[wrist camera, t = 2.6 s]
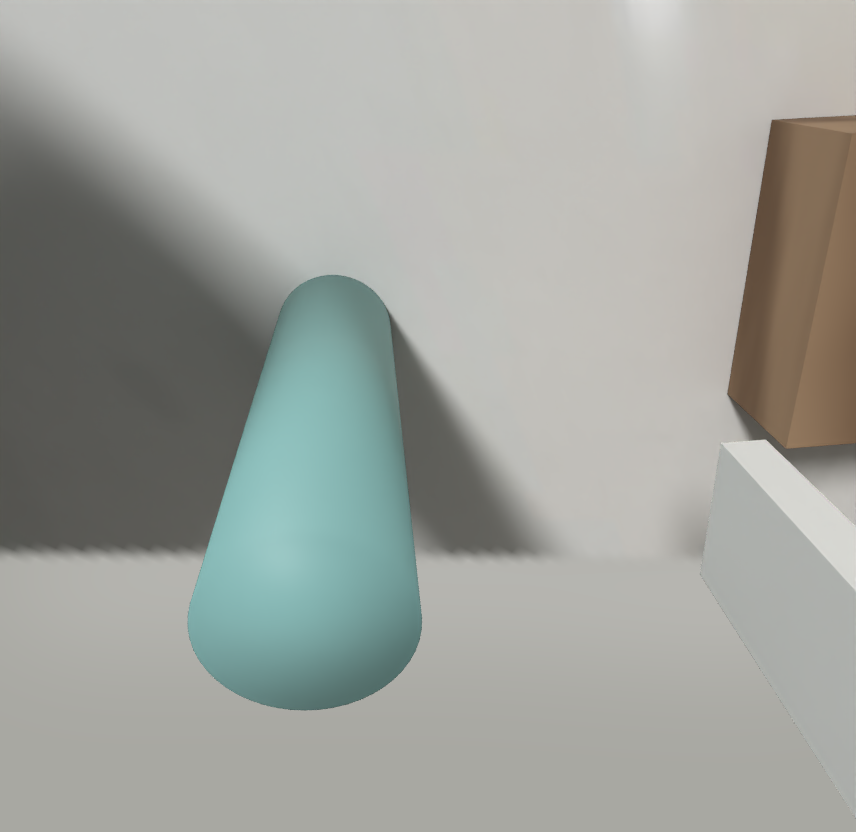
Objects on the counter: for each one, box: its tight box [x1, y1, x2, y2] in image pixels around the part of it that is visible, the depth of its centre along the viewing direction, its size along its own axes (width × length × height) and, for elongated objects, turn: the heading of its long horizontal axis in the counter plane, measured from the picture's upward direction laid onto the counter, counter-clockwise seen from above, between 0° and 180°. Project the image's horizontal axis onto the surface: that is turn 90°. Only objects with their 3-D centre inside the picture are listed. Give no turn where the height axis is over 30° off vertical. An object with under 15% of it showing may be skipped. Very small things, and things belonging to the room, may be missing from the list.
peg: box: [188, 275, 422, 710], centre depth 15 cm, size 3×3×12 cm
